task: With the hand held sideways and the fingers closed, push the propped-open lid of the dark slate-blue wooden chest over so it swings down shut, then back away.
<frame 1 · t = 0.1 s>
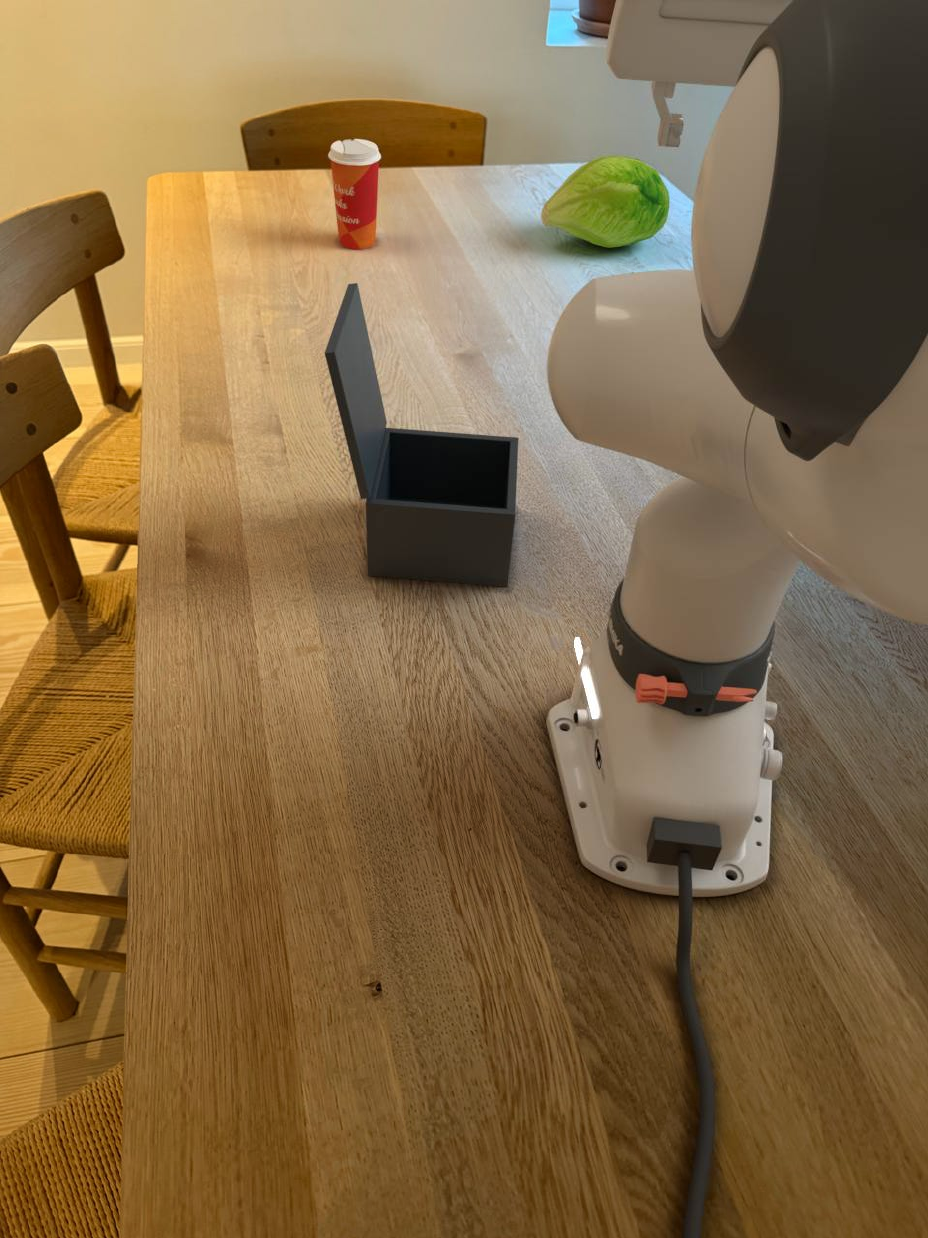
hand: (732, 148, 70), 39 cm above the table, tool pointing down, fingers open, 8 cm apart
paper cup: (357, 243, 148), on the table
chest: (442, 540, 97), on the table
chest lid: (359, 391, 86), point 16 cm above the table, hinge at 100.0°
lettuce: (600, 245, 152), on the table
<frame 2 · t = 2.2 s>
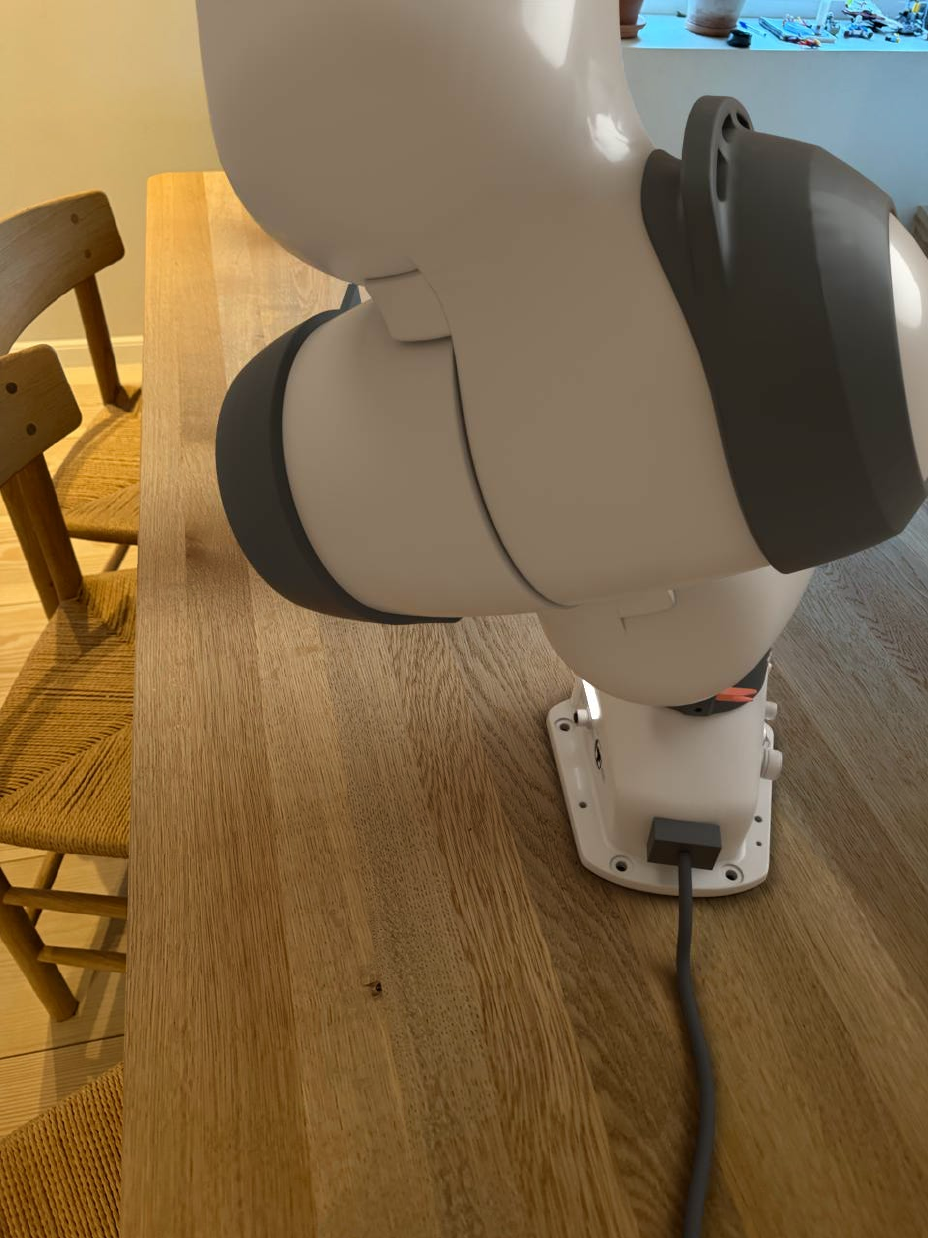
nothing on the table moved.
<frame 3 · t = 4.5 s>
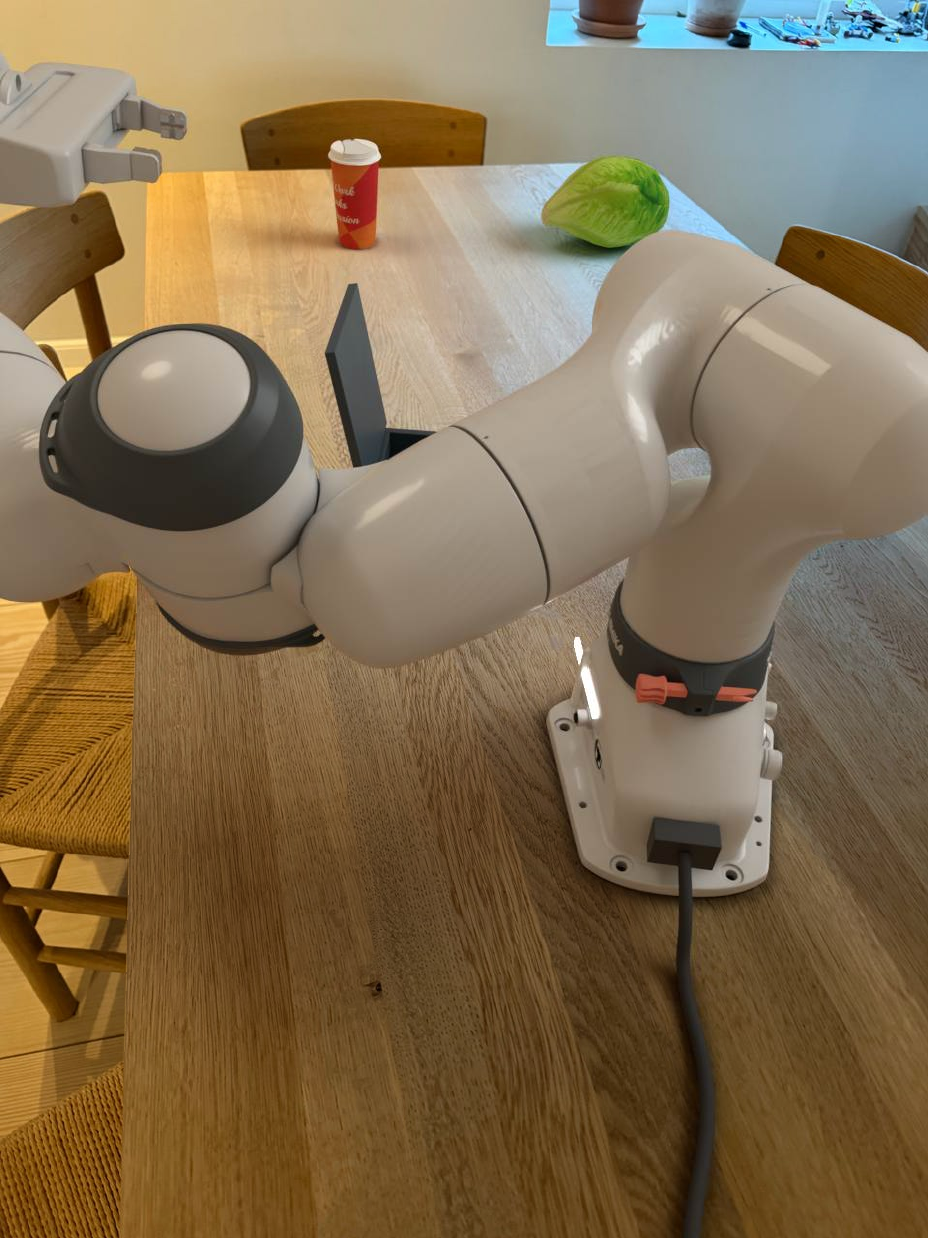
hand: (173, 145, 70), 37 cm above the table, tool horizontal, fingers open, 8 cm apart
nothing on the table moved.
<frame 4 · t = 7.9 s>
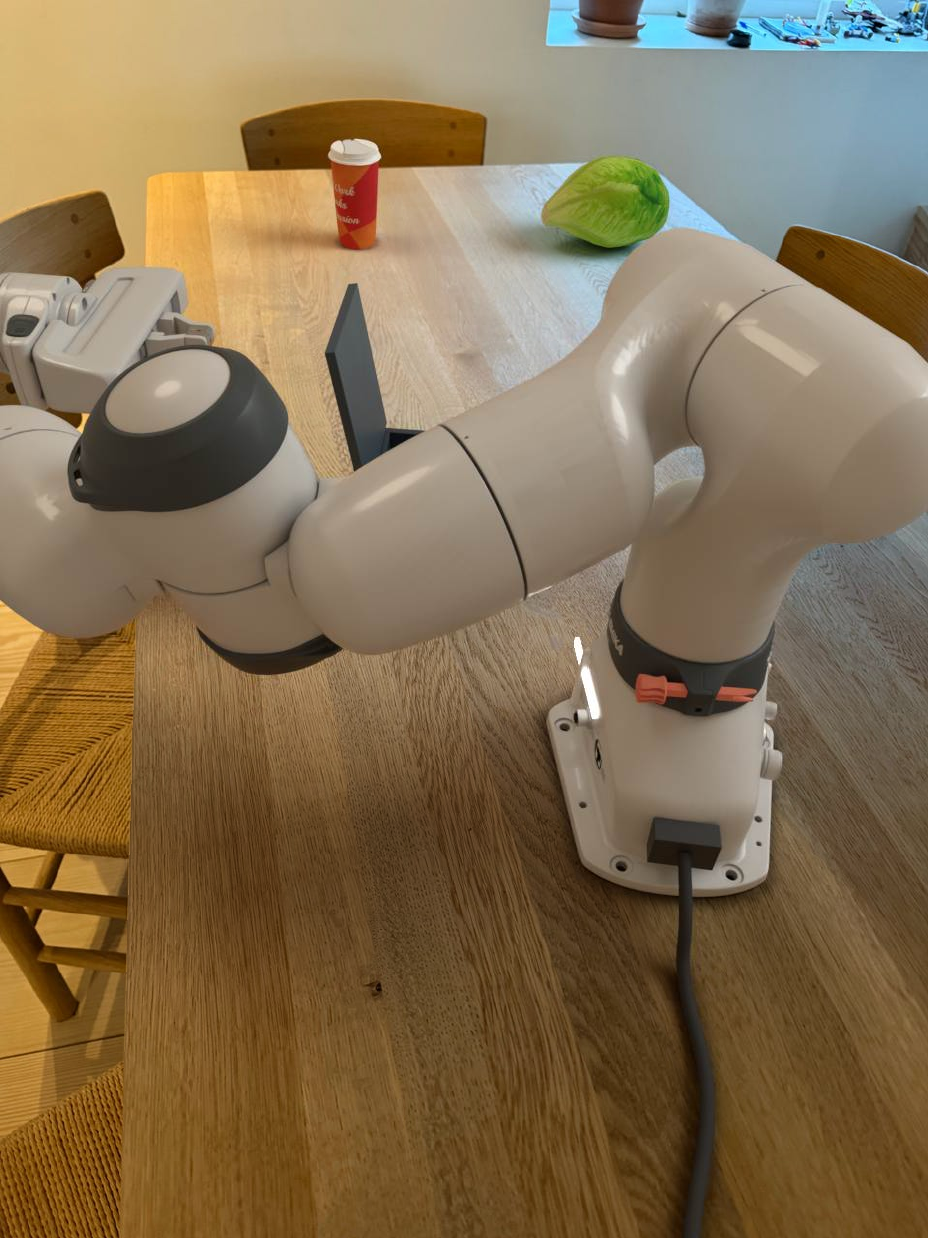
hand: (210, 340, 83), 20 cm above the table, tool horizontal, fingers closed
nothing on the table moved.
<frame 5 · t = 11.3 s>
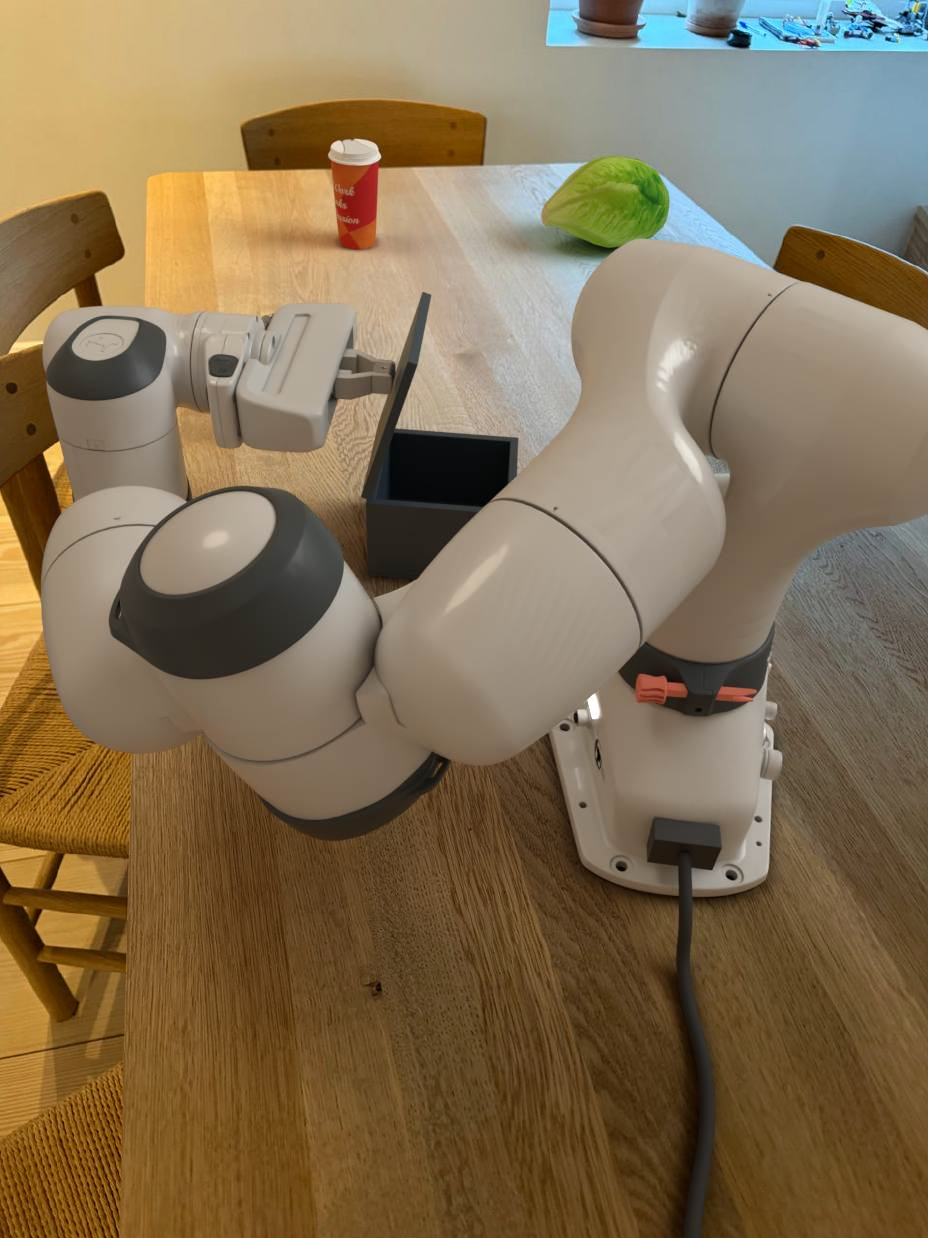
hand: (393, 377, 85), 18 cm above the table, tool horizontal, fingers closed
chest lid: (396, 396, 86), point 16 cm above the table, hinge at 73.3°, touching gripper
everything else where it was.
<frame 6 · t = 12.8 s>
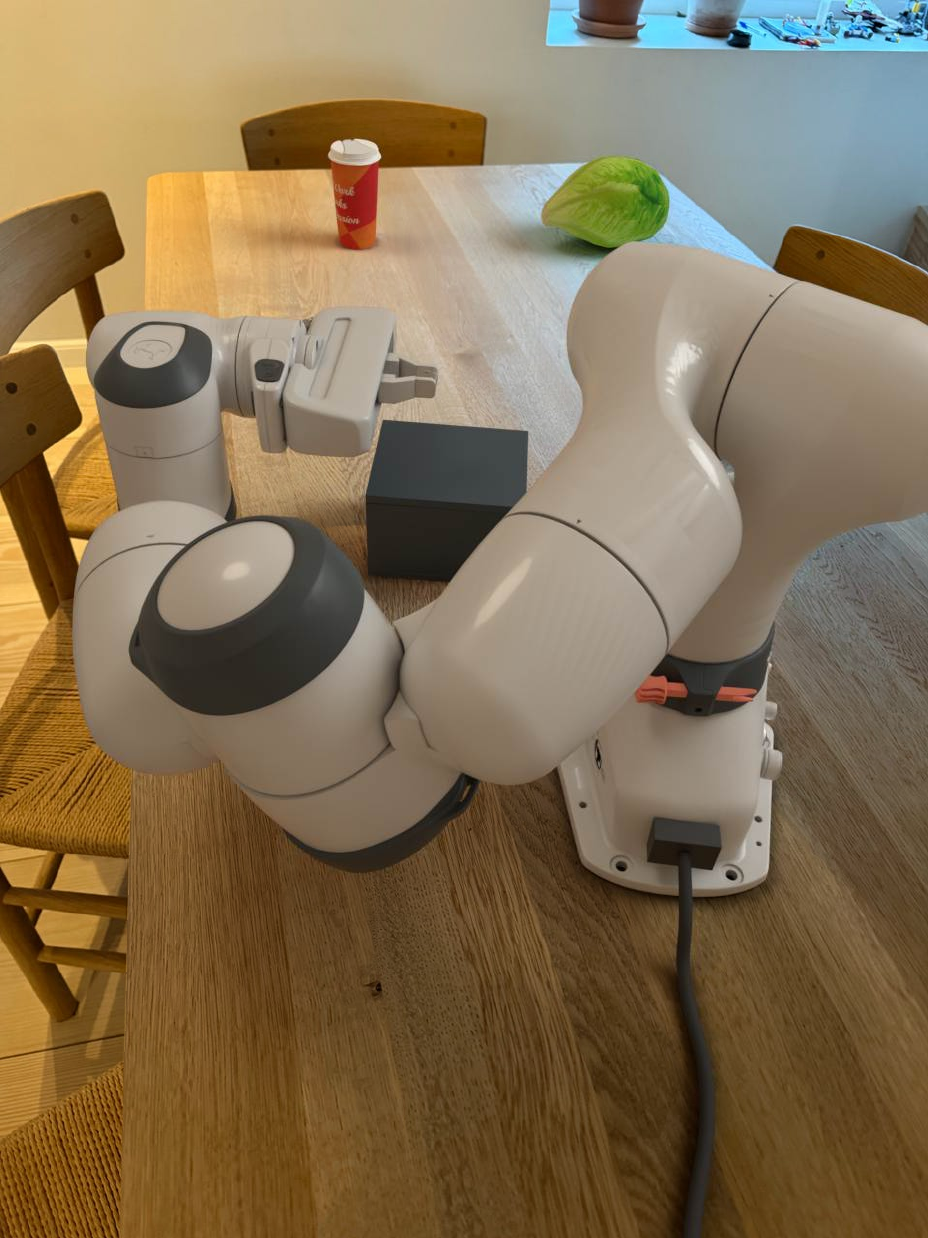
hand: (436, 381, 84), 18 cm above the table, tool horizontal, fingers closed
chest lid: (450, 465, 91), point 9 cm above the table, hinge at -0.2°
everything else where it was.
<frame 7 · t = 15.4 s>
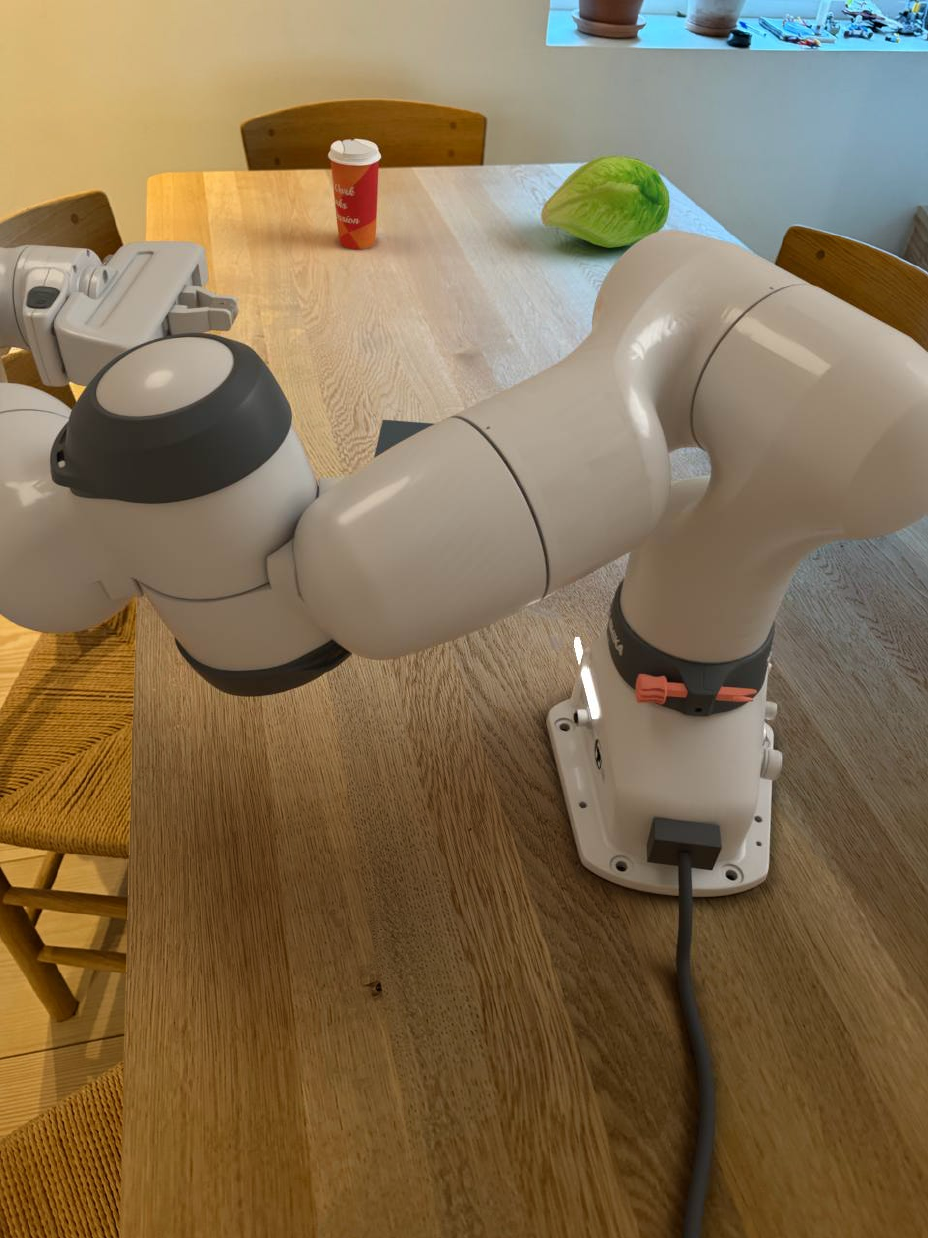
hand: (234, 313, 81), 23 cm above the table, tool horizontal, fingers closed
nothing on the table moved.
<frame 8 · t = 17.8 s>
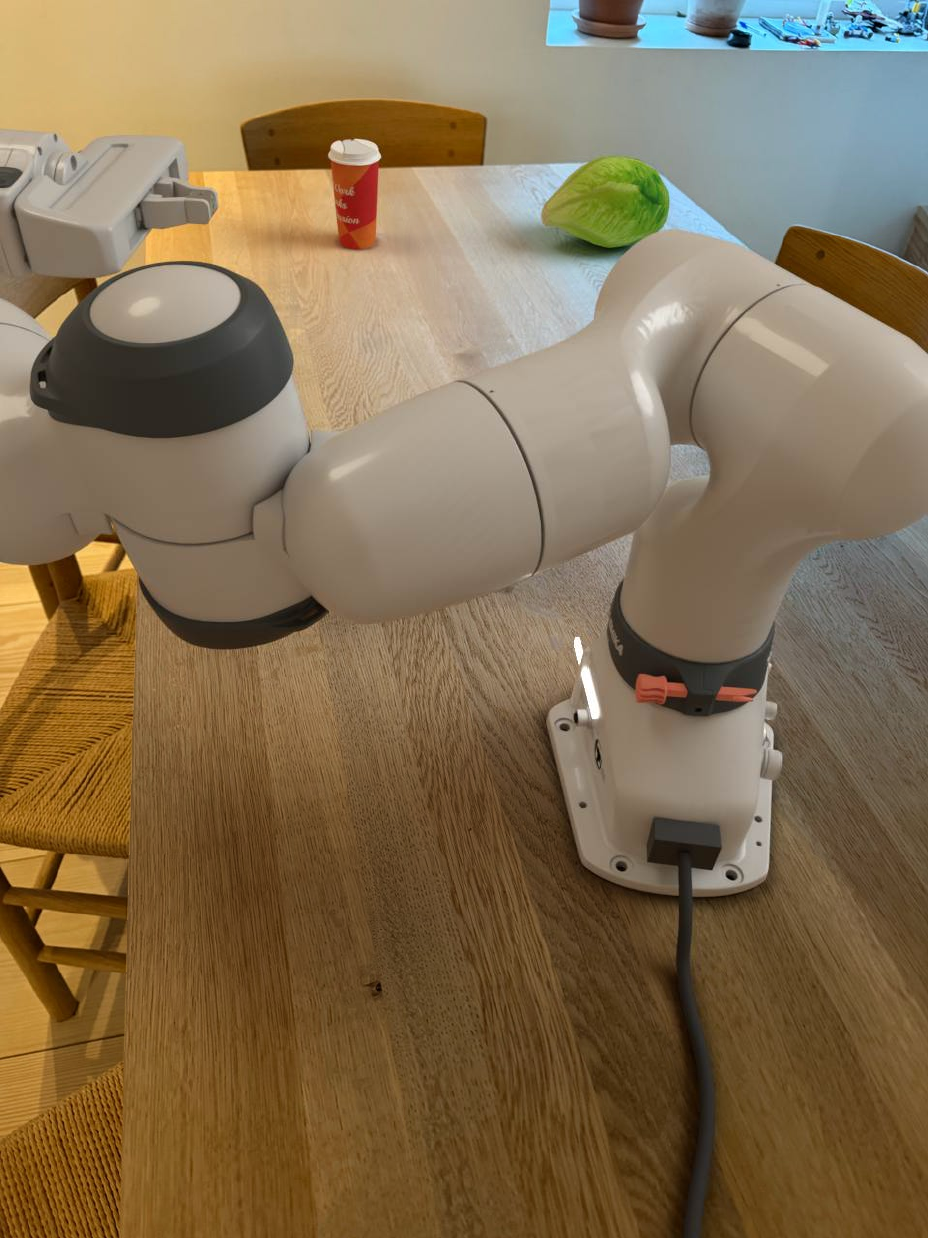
hand: (213, 206, 75), 32 cm above the table, tool horizontal, fingers closed
nothing on the table moved.
at the end: chest lid at +0° (first picture: +100°) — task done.
